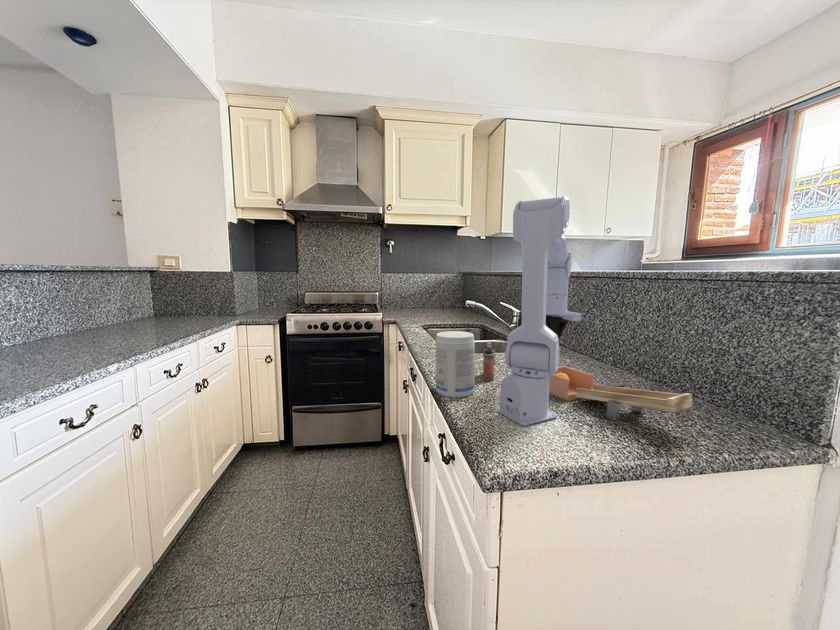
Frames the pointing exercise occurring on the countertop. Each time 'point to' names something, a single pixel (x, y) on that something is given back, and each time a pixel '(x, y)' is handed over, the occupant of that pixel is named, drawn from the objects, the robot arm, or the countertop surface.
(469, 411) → the countertop surface
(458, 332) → the supplement tub
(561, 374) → the ball
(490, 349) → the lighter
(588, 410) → the countertop surface
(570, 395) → the tray
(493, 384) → the countertop surface
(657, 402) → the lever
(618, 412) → the pivot stand
